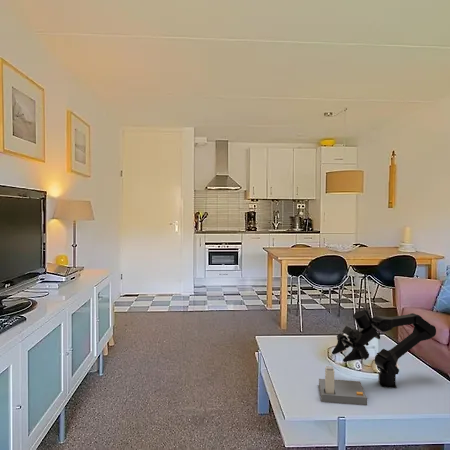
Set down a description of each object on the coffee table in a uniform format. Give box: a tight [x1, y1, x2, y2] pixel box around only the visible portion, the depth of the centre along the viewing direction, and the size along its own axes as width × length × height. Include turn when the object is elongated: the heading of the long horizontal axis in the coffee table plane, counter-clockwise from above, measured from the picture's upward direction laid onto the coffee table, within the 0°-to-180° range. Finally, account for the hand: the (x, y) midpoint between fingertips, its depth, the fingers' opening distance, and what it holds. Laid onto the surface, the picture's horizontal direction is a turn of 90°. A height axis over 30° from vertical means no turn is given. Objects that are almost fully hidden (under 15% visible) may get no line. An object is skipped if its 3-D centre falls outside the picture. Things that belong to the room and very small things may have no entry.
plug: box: [324, 365, 335, 394], centre depth 167 cm, size 3×3×13 cm
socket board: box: [318, 378, 368, 406], centre depth 171 cm, size 18×16×4 cm
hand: (337, 357), depth 174 cm, fingers open, 9 cm apart
